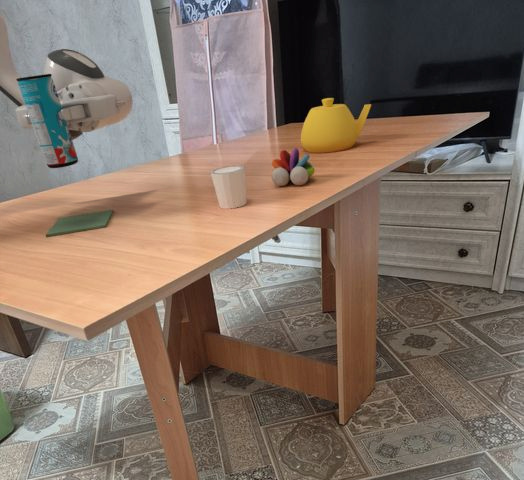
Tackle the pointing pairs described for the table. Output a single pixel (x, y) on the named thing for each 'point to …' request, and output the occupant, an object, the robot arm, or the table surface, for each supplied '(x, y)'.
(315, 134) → the teapot
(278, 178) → the rainbow petal toy
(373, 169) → the table surface
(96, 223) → the mat
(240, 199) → the white cup
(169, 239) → the table surface
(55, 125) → the beverage can
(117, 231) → the table surface
